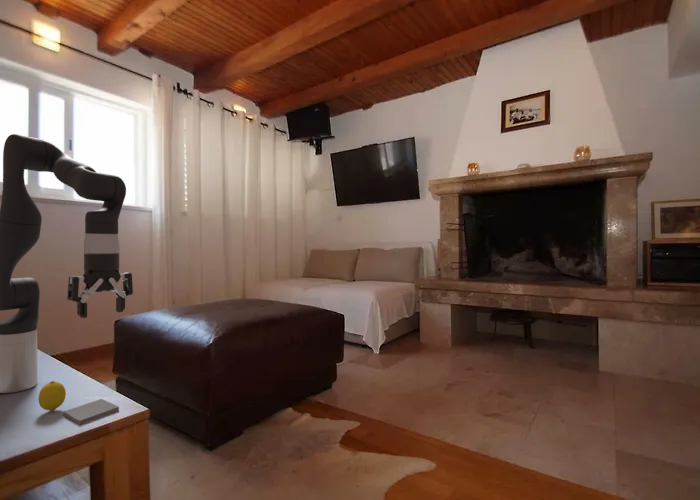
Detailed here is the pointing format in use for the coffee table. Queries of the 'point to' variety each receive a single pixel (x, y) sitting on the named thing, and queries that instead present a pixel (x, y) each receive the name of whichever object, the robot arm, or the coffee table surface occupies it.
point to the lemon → (52, 396)
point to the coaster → (90, 411)
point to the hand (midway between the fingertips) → (102, 314)
